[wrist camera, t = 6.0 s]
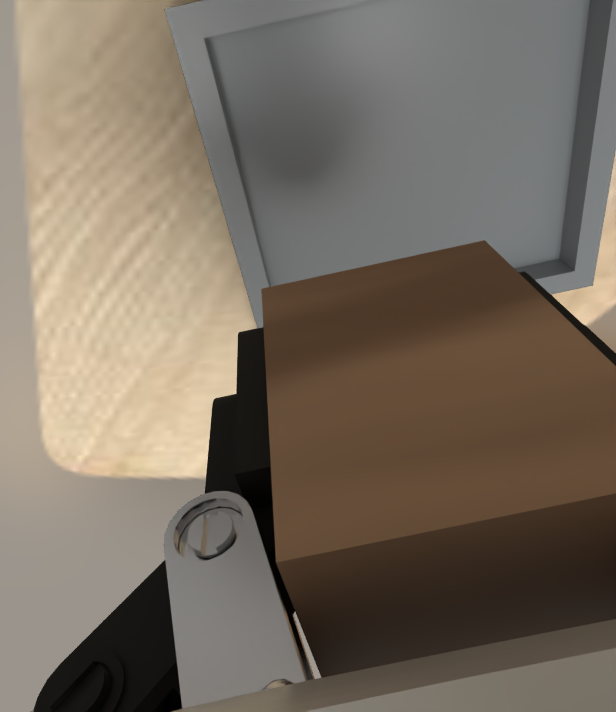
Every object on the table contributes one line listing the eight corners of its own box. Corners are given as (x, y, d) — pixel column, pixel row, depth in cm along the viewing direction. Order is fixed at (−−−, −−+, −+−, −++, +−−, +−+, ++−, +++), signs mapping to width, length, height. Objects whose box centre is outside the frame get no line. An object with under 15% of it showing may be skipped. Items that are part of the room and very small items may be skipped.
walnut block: (261, 288, 10) (276, 562, 5) (484, 240, 10) (724, 470, 5) (304, 445, 12) (341, 727, 8) (480, 408, 12) (635, 670, 7)
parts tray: (172, 9, 18) (164, 9, 16) (616, -94, 17) (658, -106, 16) (264, 331, 26) (265, 355, 24) (568, 266, 26) (592, 285, 24)
